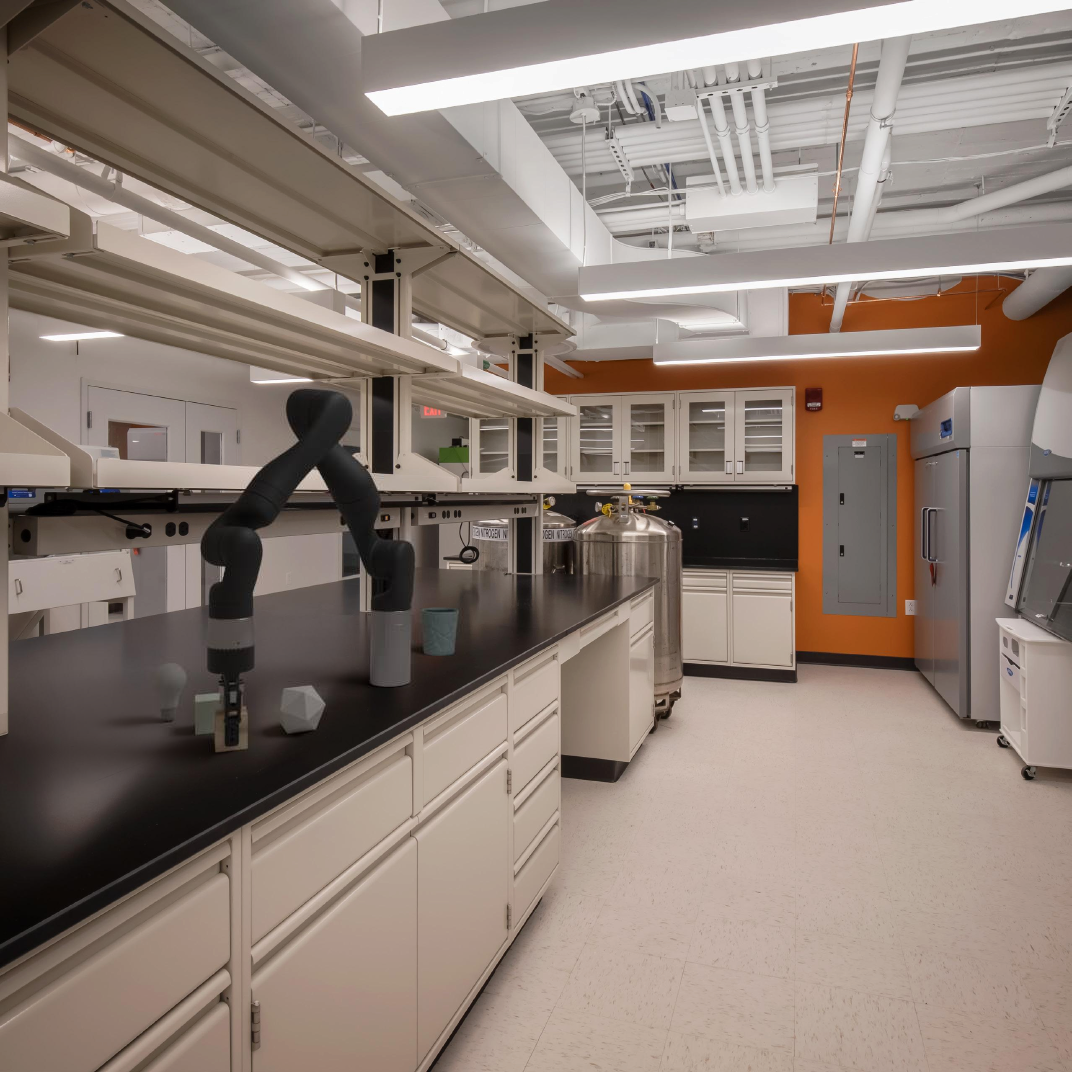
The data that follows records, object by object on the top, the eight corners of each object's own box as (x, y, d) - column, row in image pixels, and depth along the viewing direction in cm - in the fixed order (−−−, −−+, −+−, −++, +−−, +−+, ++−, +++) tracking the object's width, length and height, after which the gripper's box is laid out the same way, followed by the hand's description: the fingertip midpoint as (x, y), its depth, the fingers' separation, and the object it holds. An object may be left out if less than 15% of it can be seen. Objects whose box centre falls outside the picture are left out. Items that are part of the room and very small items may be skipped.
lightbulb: (192, 720, 141) (191, 663, 140) (158, 727, 136) (158, 668, 136) (178, 713, 145) (178, 658, 144) (145, 720, 140) (145, 663, 140)
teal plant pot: (414, 654, 204) (415, 610, 203) (431, 647, 213) (431, 606, 213) (448, 657, 201) (449, 613, 200) (463, 650, 210) (464, 608, 210)
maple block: (214, 742, 129) (214, 708, 128) (245, 739, 131) (245, 706, 131) (215, 752, 124) (215, 716, 124) (247, 748, 126) (247, 713, 126)
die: (318, 723, 143) (287, 683, 142) (342, 709, 138) (310, 668, 137) (288, 749, 137) (256, 708, 136) (312, 736, 132) (279, 693, 131)
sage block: (195, 726, 137) (195, 694, 137) (224, 723, 140) (224, 692, 139) (195, 735, 133) (195, 702, 133) (225, 731, 135) (225, 699, 135)
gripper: (258, 649, 122) (257, 751, 123) (251, 634, 135) (250, 726, 136) (208, 652, 119) (208, 757, 119) (206, 636, 131) (205, 730, 132)
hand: (230, 740), depth 127 cm, fingers closed on maple block, 5 cm apart
